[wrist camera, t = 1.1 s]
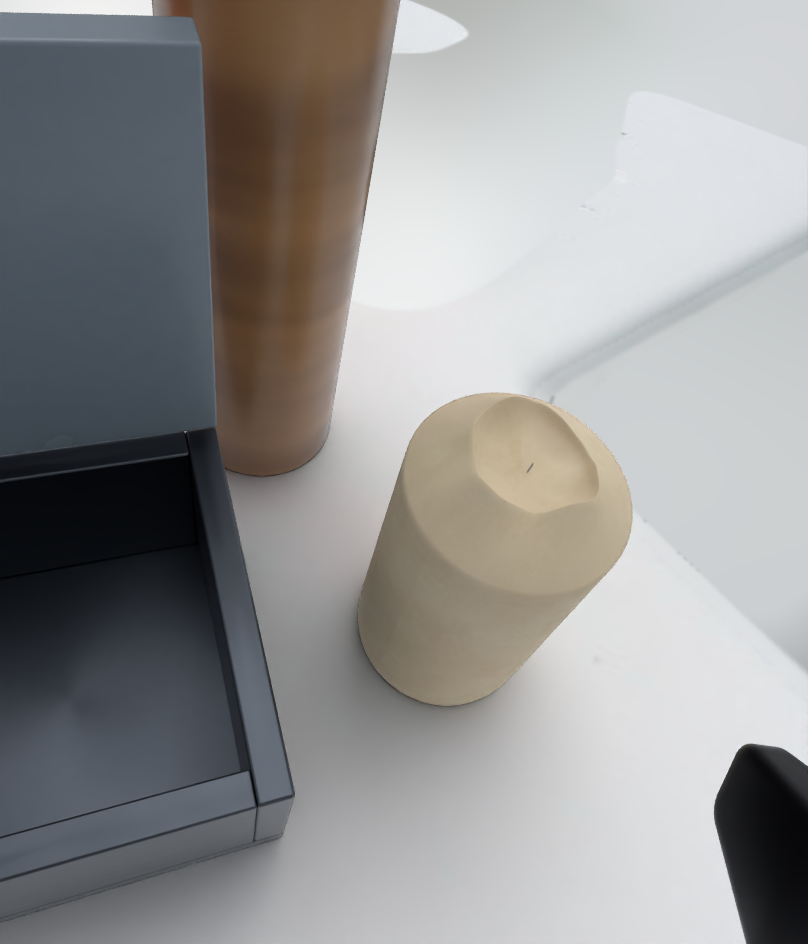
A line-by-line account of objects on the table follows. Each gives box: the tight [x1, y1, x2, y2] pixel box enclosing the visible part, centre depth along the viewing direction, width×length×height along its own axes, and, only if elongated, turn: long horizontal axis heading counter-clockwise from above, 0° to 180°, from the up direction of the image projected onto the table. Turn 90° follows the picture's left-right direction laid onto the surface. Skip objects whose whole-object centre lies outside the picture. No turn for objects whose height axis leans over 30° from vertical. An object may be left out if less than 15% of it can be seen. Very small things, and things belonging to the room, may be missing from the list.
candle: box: [358, 393, 632, 706], centre depth 21 cm, size 6×6×10 cm
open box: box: [0, 427, 295, 922], centre depth 19 cm, size 10×10×6 cm
